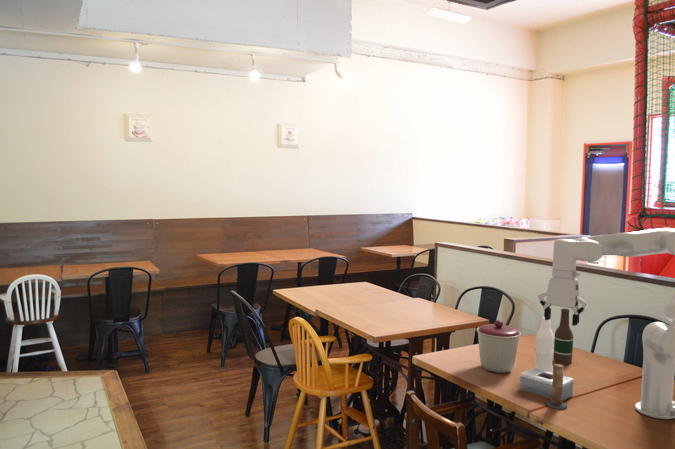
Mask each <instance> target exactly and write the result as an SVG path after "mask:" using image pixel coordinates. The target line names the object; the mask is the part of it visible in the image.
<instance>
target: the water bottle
mask: <svg viewBox="0 0 675 449" xmlns="http://www.w3.org/2000/svg"><path fill="white" fill-rule="evenodd" d="M540 324H541V326H540V327H539V328H538V330H537V332H536V334H535V348H534V352H535V362H534V365H533V366H534V367H533V368H536V369H540V370H544V371H547V372H551V373H553V355H554V337H555V333H554V332H553V330H552V327H551V324H552V323H551V319H549V320H545V317H544V316H542V318H541V322H540Z"/></svg>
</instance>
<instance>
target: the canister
mask: <svg viewBox="0 0 675 449" xmlns="http://www.w3.org/2000/svg"><path fill="white" fill-rule="evenodd" d="M476 332H477V336H478V337H477V338H478V340H477V341H478V351H479V361H480V365H481V367H482V368H483V369H484V370H486V371H490V372H492V373H498V374H500V373H501V374H502V373H509V372H511V371H512V370H513V369H514V367H515V363H516V357H517V351H518V346H519V338H520V337H521V335H522V333H521V331H520V330H518V329H517V328H515V327H513V326H510V325H505V324H504V322H503V321H502V320H501V319H500V320H499V319H496V320H495V321H494V323H488V324H487V323H486V324H483V325H480V326H478V327H477V328H476Z"/></svg>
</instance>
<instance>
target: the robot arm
mask: <svg viewBox="0 0 675 449" xmlns="http://www.w3.org/2000/svg"><path fill="white" fill-rule="evenodd" d="M552 253H553V254H552V267H551V269H552V270H551V276H550V277H549V280H548V284H547V288H546V291H547V292H543V293H541V294H538V295H537V298H538V299H539V300H538V301H539V303H540V305H541V306H542V308H543V311H544V314H543V317H545V320H549V319H550V320H551V318H552V309H551V306H554V307H555V306H556V307H561V308H565V309H571V310H572V312H573V314H572V323H571V326H573V327H576V326H578V324H579V323H580V314H582V312H584V311H585V310H586V308H588V306H589V303H588V302H587V301H586V300H584V299H583V298H581V297H580V286H579V280H578V279H577V278H579V277H580V273H579V272H577V270H576V269H577V261H581V262H585V263H593V262H597V261H599V260H600V259H601V258H602V257H603V256H617V257H618V256H619V257H625V258H628V257H629V258H635V257H636V258H637V257H642V256H651V255H658V254H659V255H660V254H670V255H673V256H675V228H673V227H672V228H671V227H662V228H653V229H647V230H646V229H645V230H640V231H631V232H618V233H610V234H599V235H592V236H591V235H590V236H583V237H578V238H577V239H575V240H574V239H569V238H558V239H555V240H554V242H553V252H552ZM545 297H546V300H545ZM580 304H581V305H580ZM579 305H580V306H581V307H579ZM662 312H663V313H662V314H663V316H664V317H665V319H666V320H668V321H669V322H671V323H670V325H669V324H667V323H665V322H661V321H654V322H651V323H649V324H647V325H645V327H644V329H643V332H642V338H641V339H642V349H643V359H642V360H643V361H642V362H643V363H642V364H643V365H642V373H641V375H642V376H641V377H642V378H641V390H640V391H641V392H640V401H639V402H636V403H635V404H634V408H635V410H636V411H637V412H638V413H640V414H642V415H644V416H647V417H651V418H654V419H658V420H660V419H661V420H674V419H675V401H674V400H673V397H674V384H675V383H674V382H675V291H674V292H673V293H672V295H671V296H670V298H669V299H668V301H667V302H666V304H665V305H664V307H663V311H662Z"/></svg>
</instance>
